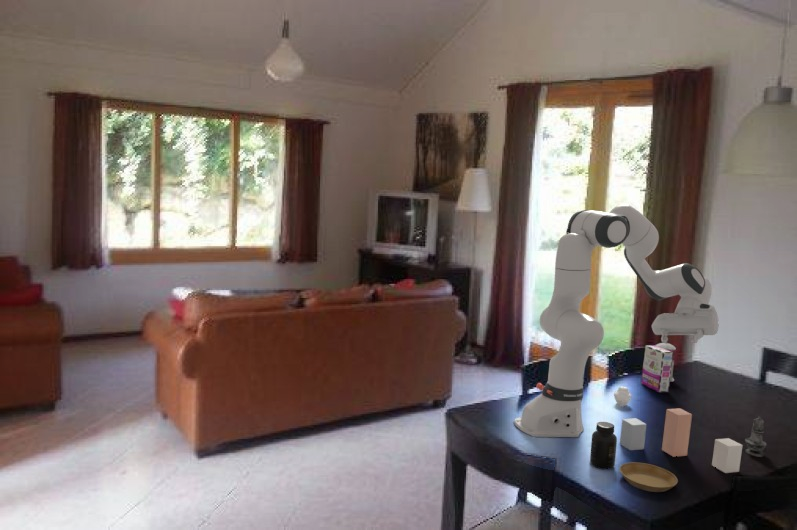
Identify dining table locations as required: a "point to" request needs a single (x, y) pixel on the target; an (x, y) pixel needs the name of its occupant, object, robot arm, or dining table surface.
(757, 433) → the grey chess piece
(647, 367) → the candy bar box
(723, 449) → the off-white block
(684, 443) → the coral block
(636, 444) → the grey-blue block
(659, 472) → the plant saucer
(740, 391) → the dining table surface
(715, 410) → the dining table surface
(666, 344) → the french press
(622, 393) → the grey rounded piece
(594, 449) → the supplement bottle
